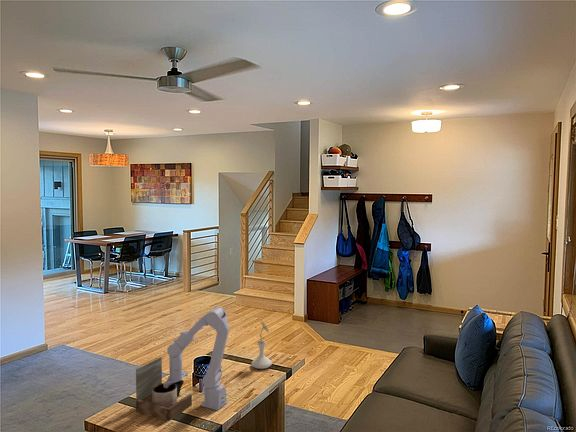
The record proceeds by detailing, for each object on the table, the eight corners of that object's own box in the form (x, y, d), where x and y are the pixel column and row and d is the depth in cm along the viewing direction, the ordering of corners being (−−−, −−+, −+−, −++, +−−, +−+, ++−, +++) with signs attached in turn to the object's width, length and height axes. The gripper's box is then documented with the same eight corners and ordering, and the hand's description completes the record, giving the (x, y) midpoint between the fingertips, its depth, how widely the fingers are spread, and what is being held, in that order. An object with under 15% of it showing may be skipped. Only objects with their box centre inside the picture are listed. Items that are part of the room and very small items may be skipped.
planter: (171, 415, 182) (170, 394, 181) (147, 413, 183) (147, 392, 183) (181, 403, 193) (181, 383, 192) (158, 401, 194) (158, 381, 194)
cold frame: (191, 405, 191) (191, 364, 190) (168, 421, 177) (168, 377, 177) (160, 396, 199) (160, 357, 198) (136, 411, 185) (135, 369, 184)
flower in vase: (271, 370, 229) (271, 325, 228) (250, 370, 230) (250, 325, 228) (272, 361, 242) (272, 318, 241) (252, 361, 243) (252, 318, 241)
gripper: (179, 361, 203) (179, 388, 203) (158, 372, 190) (158, 401, 190) (191, 363, 200) (191, 391, 200) (170, 375, 187) (170, 405, 187)
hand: (176, 396), depth 195 cm, fingers closed
